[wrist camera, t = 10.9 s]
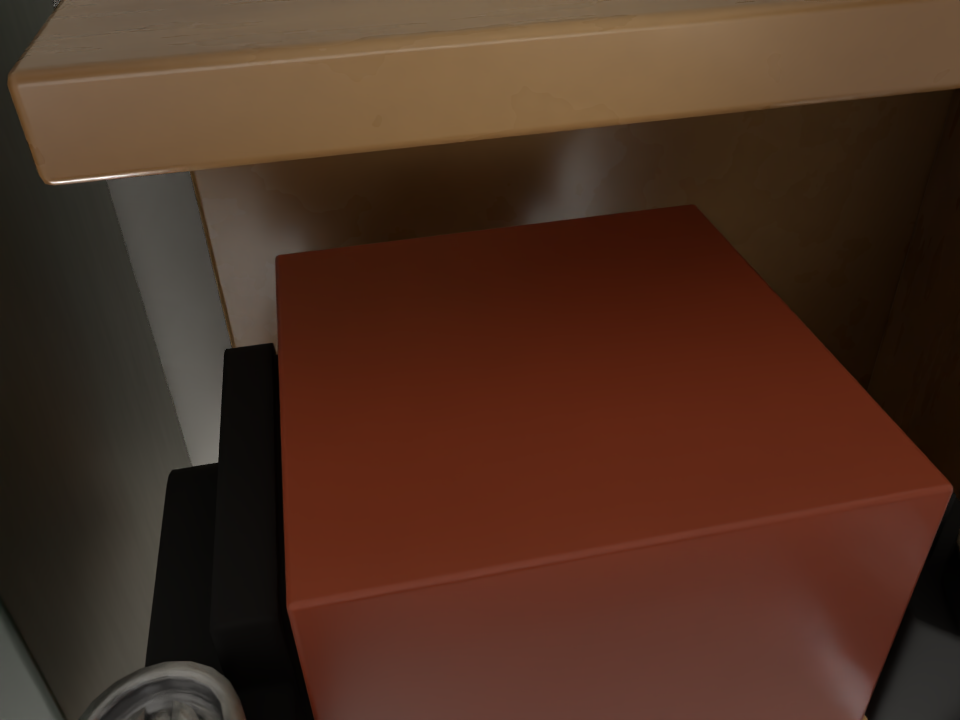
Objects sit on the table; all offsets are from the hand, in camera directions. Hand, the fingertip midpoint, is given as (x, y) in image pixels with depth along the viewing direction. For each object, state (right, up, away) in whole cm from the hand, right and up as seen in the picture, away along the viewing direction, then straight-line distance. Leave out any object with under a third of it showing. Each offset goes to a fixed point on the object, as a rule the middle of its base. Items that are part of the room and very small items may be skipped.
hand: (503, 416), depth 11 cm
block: (0, 0, 0) cm, 0 cm away
